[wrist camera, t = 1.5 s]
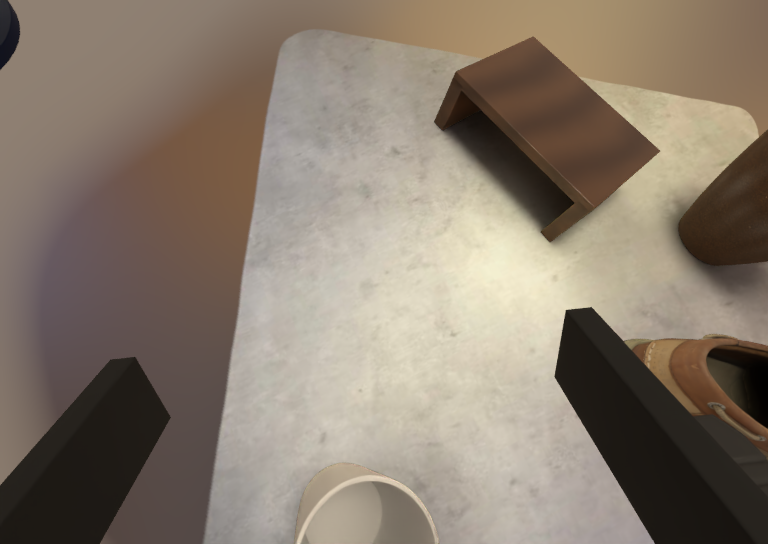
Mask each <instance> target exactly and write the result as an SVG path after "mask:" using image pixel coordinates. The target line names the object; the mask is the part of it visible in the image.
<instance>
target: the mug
mask: <svg viewBox="0 0 768 544" xmlns="http://www.w3.org/2000/svg"><path fill="white" fill-rule="evenodd" d="M294 544H440V543H439V538H438V534H437V531H436V528H435V525H434V522H433V520H432V518H431V516H430V514H429V512H428V510H427V508H426V507H425V505H424V504H423V503H422V501H421V500H420V499H419V498H418V497H417V496H416V494H415V493H413V492H412V491H411V490H410V489H409V488H408V487H406V486H405V485H403V484H402V483H400V482H398V481H396V480H394V479H391V478H389V477H386V476H384V475H382V474H379V473H376V472H374V471H371V470H369V469H367V468H365V467H362V466H359V465H355V464H351V463H338V464H334V465H331V466H329V467H327V468H325V469H323V470H322V471H320V472H319V473H318V474H317V475H316V476H315V477H314V478H313V479H312V480H311V481H310V483H309V484H308V486H307V487H306V489H305V491H304V493H303V496H302V498H301V502H300V506H299V510H298V516H297V524H296V531H295V538H294Z"/></svg>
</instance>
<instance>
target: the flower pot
mask: <svg viewBox="0 0 768 544" xmlns="http://www.w3.org/2000/svg"><path fill="white" fill-rule="evenodd" d="M678 228H679V234H680V237H681V239H682V241H683V243H684V245H685V246H686V248H687V249H688V250H689V251H690V252H691V253H692V254H693V255H694V256H695V257H697V258H698V259H699V260H701V261H703V262H705V263H707V264H710V265H714V266H721V265H737V264H749V263H758V262H767V261H768V130H767V131H766V132H764V133H763V134H762V135H761V136H760V137H759V138H758V139H757V140H755V141H754V142H753V143H752V144H751V145H750V146H749V147H748V148H747V149H746V150H745V151H744V152H742V153H741V154H740V155H739V156H738V157H737V158H736V159H735V160H734V161H733V162H732V163H731V164H730V165H729V166H728V167H727V168H726V169H725V170H724V171H723V172H722V173H721V174H720V175H719V176H718V177H717V178H716V179H715V180H714V181H713V182H712V183H711V184H710V185H709V186H708V187H707V189H706V190H705V191H704V192H703V193H702V194H701V195H700V196H699V197H698V199H697V200H696V201H695V202H694V203H693V205H692V206H691V207H690V208H689V209H688V211H687V212H686V213H685V214H684V216H683V217H682V218H681V220H680V222H679V227H678Z"/></svg>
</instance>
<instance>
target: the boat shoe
mask: <svg viewBox="0 0 768 544" xmlns="http://www.w3.org/2000/svg"><path fill="white" fill-rule="evenodd" d="M624 343H625V344H626V345H627V346H628V347H629V348H630V349H631V350H632V351H633V352H634V353H635V354H636V355H637V357H638V358H639V359H640V360H641V361H642V362H643V363H644V364H645V365H646V366H647V367H648V368H649V369H650V370H651V372H652V373H653V374H654V375H655V376H656V377H657V378H658V379H659V380H660V381H661V382H662V383H663V384H664V386H665V387H666V388H667V389H668V390H669V391H670V392H671V393H672V394H673V395H674V396H675V397H676V398H677V399H678V401H679V402H680V403H681V404H682V405H683V406H684V407H685V408H686V409H687V410H688V411H689V412H690V413H691V415H692V416H700V415H710V414H713V415H715V416H716V417H718V418H719V419H721V420H722V421H724V422H726V423H727V424H729V425H730V426H732V427H733V428H735V429H736V430H738V431H740V432H741V433H742V434H743V435H745V436H746V437H747V438H748V439H749V440H750V441H751V442H752V443H753V444H754V445H755V446H756V447H757V448H758V449H759V450H760V451H761V452H762V453H763V454H764V455H765V456H766V459H767V460H768V346H766V345H762V344H758V343H753V342H748V341H742V340H738V339H736V338H734V337H730V336H726V335H718V334H709V335H706V336H704V337H703V339H699V340H693V339H661V340H648V339H631V340H626V341H624Z"/></svg>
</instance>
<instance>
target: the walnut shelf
mask: <svg viewBox="0 0 768 544" xmlns="http://www.w3.org/2000/svg"><path fill="white" fill-rule="evenodd" d="M480 110H482V111H483V112H484V113H485V114H486V115H487V116H488V117H489V118H490V119H491V120H492V121H493V122H494V123H495V124H496V125H497V126H498V127H499V128H500V129H501V130H502V131H503V132H504V133H505V134H506V135H507V136H508V137H509V138H510V139H511V140H512V141H513V142H514V143H515V144H516V145H517V146H518V147H519V148H520V149H521V150H522V151H523V152H524V153H525V154H526V155H527V156H528V157H529V158H530V159H531V160H532V161H533V162H534V163H535V164H536V165H537V166H538V167H539V168H540V169H541V170H542V171H543V172H544V173H545V174H546V175H547V176H548V177H549V178H550V179H551V180H552V181H553V182H554V183H555V184H556V185H557V186H558V187H559V188H560V189H561V190H562V191H563V192H564V193H565V194H566V195H567V196H568V197H569V198H570V199H571V200H572V201H573V202H574V204H573V205H572V206H571V207H569V208H568V209H567V210H566V211H565V212H563V213H562V214H561V215H560V216H559V217H557V218H556V219H555V220H554V221H553V222H551V223H550V224H549V225H548V226H547V227H545V228H544V229H543V230H542V231H541V233H542V234H543V235H544V236H545V237H546V238H547V239H548V240H549V241H550V242H551V241H553V240H554V239H555V238H557V237H558V236H559V235H561V234H562V233H563V232H565V231H566V230H567V229H568V228H570V227H571V226H572V225H574V224H575V223H576V222H578V221H579V220H580V219H582V218H583V217H584V216H586V215H587V214H588V213H590V212H591V211H592V210H594V209H595V208H596V207H597V206H598V205H599V204H601V203H602V202H603V201H604V200H605V199H606V198H607V197H609V196H610V195H611V194H612V193H613V192H614V191H615V190H617V189H618V188H619V187H620V186H621V185H622V184H623V183H625V182H626V181H627V180H628V179H629V178H630V177H631V176H633V175H634V174H635V173H636V172H637V171H638V170H639V169H641V168H642V167H643V166H644V165H645V164H646V163H647V162H649V161H650V160H651V159H652V158H653V157H654V156H655V155H657V154H658V153H659V152H660V150H659V149H658V148H657V147H656V146H654V145H653V144H652V143H651V142H650V141H649V140H648V139H647V138H646V137H644V136H643V135H642V134H641V133H640V132H639V131H638V130H637V129H636V128H634V127H633V126H632V125H631V124H630V123H629V122H628V121H627V120H626V119H624V118H623V117H622V116H621V115H620V114H619V113H618V112H617V111H616V110H614V109H613V108H612V107H611V106H610V105H609V104H608V103H607V102H606V101H604V100H603V99H602V98H601V97H600V96H599V95H598V94H597V93H596V92H594V91H593V90H592V89H591V88H590V87H589V86H588V85H587V84H586V83H584V82H583V81H582V80H581V79H580V78H579V77H578V76H577V75H576V74H574V73H573V72H572V71H571V70H570V69H569V68H568V67H567V66H566V65H564V64H563V63H562V62H561V61H560V60H559V59H558V58H557V57H556V56H554V55H553V54H552V53H551V52H550V51H549V50H548V49H547V48H546V47H545V46H543V45H542V44H541V43H540V42H539V41H538V40H537V39H536V38H535V37H531V38H529V39H527V40H525V41H522V42H520V43H518V44H516V45H514V46H512V47H509V48H507V49H505V50H502V51H500V52H498V53H496V54H494V55H491V56H489V57H487V58H485V59H482V60H480V61H478V62H476V63H474V64H471V65H469V66H467V67H465V68H463V69H460V70H458V71H456V72H455V75H454V77H453V79H452V82H451V84H450V86H449V89H448V91H447V93H446V96H445V98H444V100H443V103H442V105H441V107H440V110H439V112H438V114H437V117H436V119H435V121H434V122H435V123H436V124H437V125H438V126H439V127H440V128H441V129H442V130H444V129H446V128H448V127H450V126H452V125H453V124H455V123H457V122H459V121H461V120H463V119H465V118H467V117H468V116H470V115H472V114H474V113H476V112H478V111H480Z"/></svg>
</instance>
